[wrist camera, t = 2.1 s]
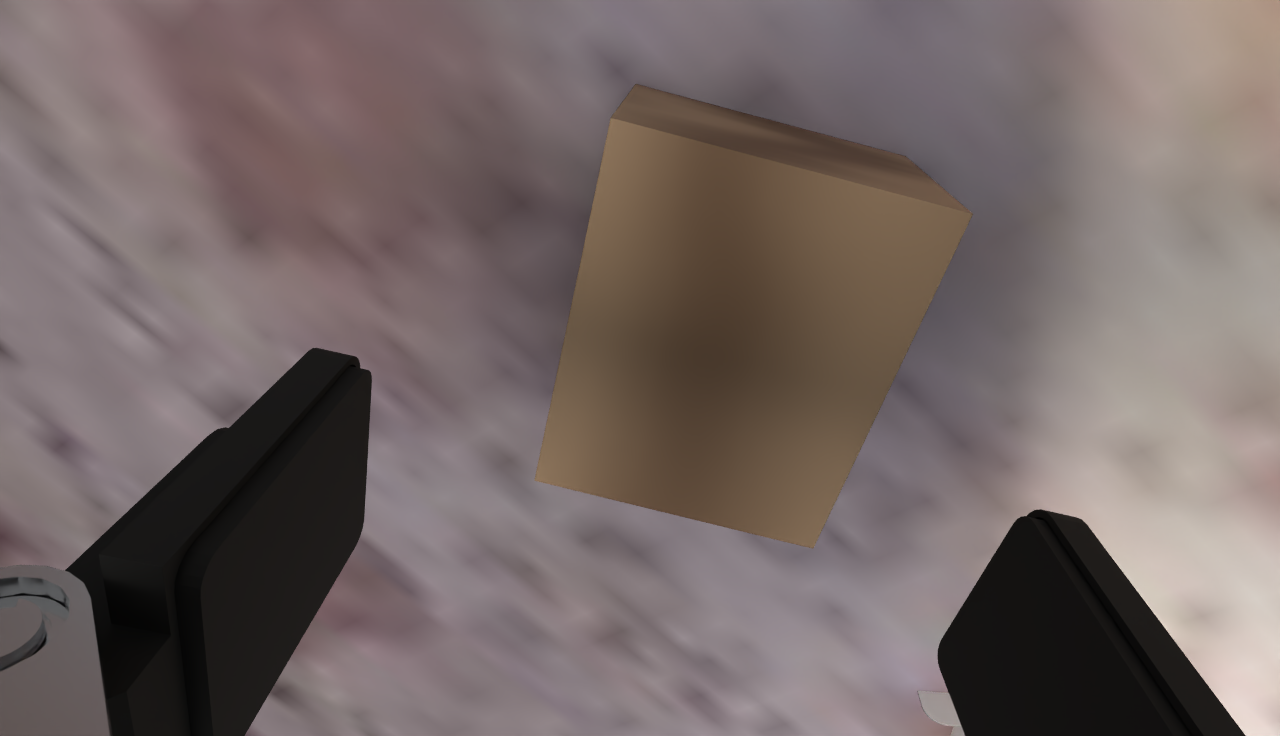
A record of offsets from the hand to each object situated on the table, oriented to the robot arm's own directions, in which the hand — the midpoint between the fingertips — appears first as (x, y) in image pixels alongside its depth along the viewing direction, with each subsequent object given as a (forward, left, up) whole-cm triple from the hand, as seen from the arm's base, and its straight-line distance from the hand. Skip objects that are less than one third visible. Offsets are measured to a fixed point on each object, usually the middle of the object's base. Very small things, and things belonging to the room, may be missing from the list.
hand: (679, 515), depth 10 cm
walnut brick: (-1, 0, -10) cm, 10 cm away
